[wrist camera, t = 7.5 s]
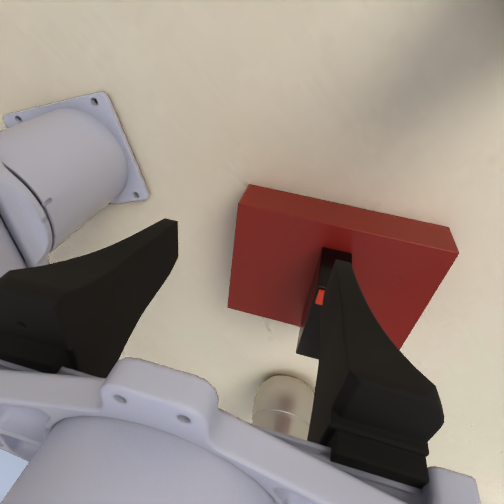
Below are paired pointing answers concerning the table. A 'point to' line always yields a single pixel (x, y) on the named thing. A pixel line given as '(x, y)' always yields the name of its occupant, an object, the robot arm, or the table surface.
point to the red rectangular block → (339, 238)
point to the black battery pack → (317, 302)
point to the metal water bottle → (284, 406)
